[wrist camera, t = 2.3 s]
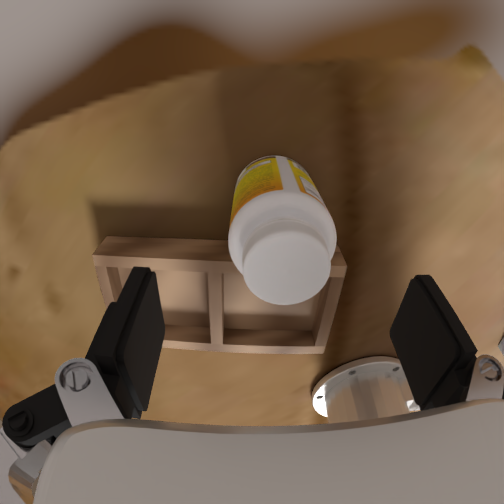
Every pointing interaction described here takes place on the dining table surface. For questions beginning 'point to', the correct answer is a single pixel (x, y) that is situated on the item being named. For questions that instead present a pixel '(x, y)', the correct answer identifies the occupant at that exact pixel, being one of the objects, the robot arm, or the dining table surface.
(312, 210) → the supplement bottle
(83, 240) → the dining table surface
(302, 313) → the divided well tray
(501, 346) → the medicine box
